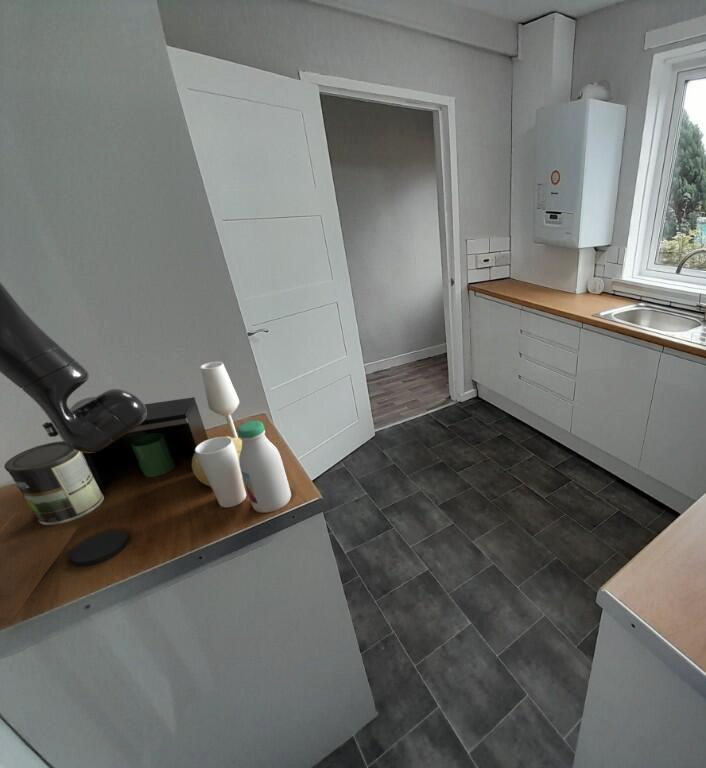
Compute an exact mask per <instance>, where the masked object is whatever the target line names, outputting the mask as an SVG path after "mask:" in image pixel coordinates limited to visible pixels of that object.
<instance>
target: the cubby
mask: <svg viewBox="0 0 706 768" xmlns="http://www.w3.org/2000/svg"><path fill="white" fill-rule="evenodd" d="M144 405H145V407H146V409H147V417H146V419H145V421H144V422H143V423H142V424H140V425H139V426H137V427H136V428H134V429H133V430H131V431H130V432H128V433H127V434H125V435H123V436H122V437H120V438H119V439H117V440H116V441H114V442H113V443H111V444H110V445H108V446H107V447H105V448H103V449H102V450H100V451H97V452H93V453H86V452H81V454H82V456H83V458H84V460H85V462H86V464H87V466H88V468H89V470H90V472H91V473H92V476H93V477H94V479H95V481H96V483H97V485H98V487H99V489H100V491H101V492H102V491H106V490H107V489H108V487H109V486H110V484H111V483H112V481H113V480H114V478H115V476H116V475H117V473H118V471H119V470H120V469H121V468H127V467H132V466H137V465H139V463H138V460H137V458H136V455H135V453H134V451H133V448H132V446H131V442H132V441H133V440H135V439H136V438H138V437H141V436H143V435H147V434H152V433H162V434H164V436H165V438H166V441H167V444H168V446H169V449H170V452H171V454H172V457H173V459H174V458H178V457H183V456H187V455H188V456H189V455H194V454H195V448H196V447H197V446H198V445H199V444H200V443H202V442H204V441H206V440H209V437H208V434H207V431H206V428H205V425H204V422H203V419H202V416H201V413H200V410H199V407H198V403H197V401H196V398H195V396H193V397H186V398H180V399H173V400H165V401H157V402H150V403H144Z"/></svg>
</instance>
